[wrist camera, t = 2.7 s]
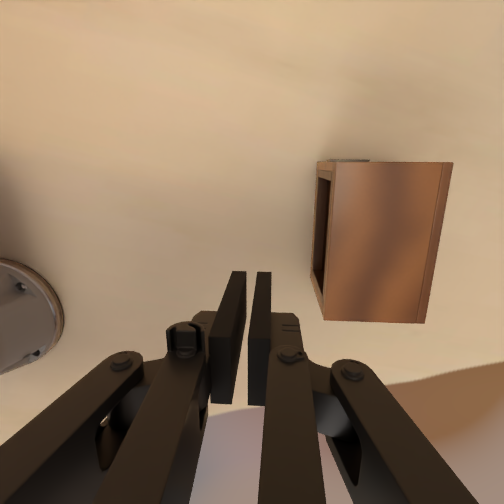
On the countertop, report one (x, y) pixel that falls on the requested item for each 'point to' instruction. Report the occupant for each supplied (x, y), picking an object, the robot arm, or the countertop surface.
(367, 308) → the wooden storage crate
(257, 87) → the countertop surface
